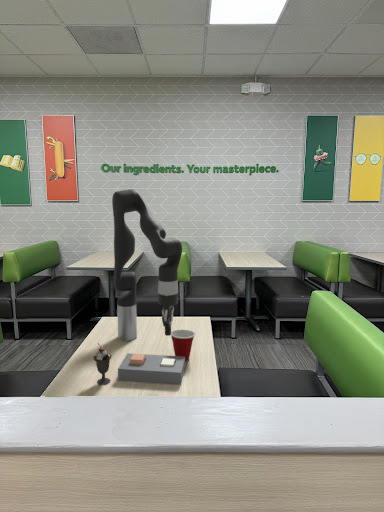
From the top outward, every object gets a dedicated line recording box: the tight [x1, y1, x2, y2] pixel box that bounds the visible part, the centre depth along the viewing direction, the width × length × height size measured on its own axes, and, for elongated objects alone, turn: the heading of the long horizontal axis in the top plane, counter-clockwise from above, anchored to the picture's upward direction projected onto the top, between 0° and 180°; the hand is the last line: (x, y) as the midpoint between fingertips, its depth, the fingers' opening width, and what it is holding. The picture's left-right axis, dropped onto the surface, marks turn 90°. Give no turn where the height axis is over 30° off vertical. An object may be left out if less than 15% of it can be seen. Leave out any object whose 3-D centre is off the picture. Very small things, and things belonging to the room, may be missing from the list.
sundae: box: [93, 343, 113, 386], centre depth 126 cm, size 7×7×15 cm
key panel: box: [117, 352, 186, 386], centre depth 133 cm, size 13×24×5 cm, turn 85°
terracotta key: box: [130, 353, 145, 365], centre depth 133 cm, size 5×5×4 cm
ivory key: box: [161, 358, 175, 367], centre depth 132 cm, size 5×5×4 cm
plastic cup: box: [170, 329, 196, 362], centre depth 145 cm, size 11×11×12 cm
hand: (168, 334), depth 130 cm, fingers closed
